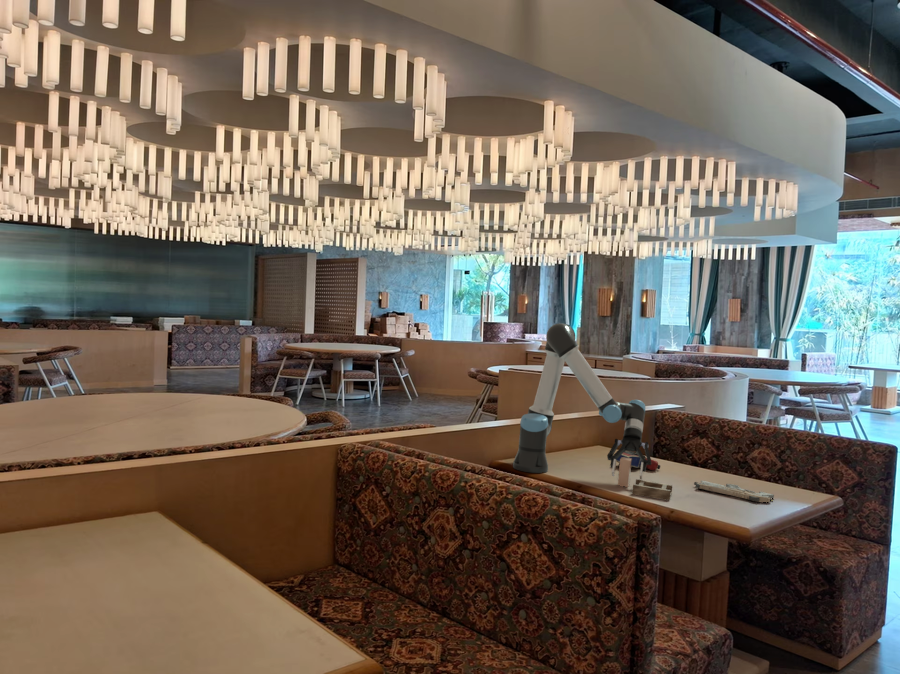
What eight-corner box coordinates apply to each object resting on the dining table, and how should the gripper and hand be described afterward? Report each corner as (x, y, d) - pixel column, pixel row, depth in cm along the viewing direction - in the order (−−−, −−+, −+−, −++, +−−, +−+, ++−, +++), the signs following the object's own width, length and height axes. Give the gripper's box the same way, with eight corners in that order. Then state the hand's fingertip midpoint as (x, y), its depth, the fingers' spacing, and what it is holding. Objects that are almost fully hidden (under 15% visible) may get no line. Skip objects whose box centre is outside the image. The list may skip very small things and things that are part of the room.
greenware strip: (617, 485, 276) (620, 459, 276) (619, 483, 281) (621, 457, 281) (627, 487, 275) (630, 460, 275) (629, 484, 280) (631, 458, 279)
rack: (632, 494, 264) (632, 485, 264) (635, 487, 275) (636, 479, 275) (669, 500, 259) (670, 491, 259) (671, 493, 270) (672, 484, 270)
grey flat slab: (705, 484, 297) (689, 488, 281) (706, 477, 297) (690, 481, 281) (778, 501, 278) (766, 506, 263) (779, 493, 279) (767, 498, 263)
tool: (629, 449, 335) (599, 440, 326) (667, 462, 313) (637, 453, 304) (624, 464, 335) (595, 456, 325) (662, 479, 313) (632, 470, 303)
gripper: (661, 440, 288) (656, 484, 274) (606, 434, 296) (599, 477, 282) (660, 429, 283) (655, 474, 269) (605, 423, 291) (597, 467, 277)
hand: (626, 475), depth 275 cm, fingers open, 10 cm apart
